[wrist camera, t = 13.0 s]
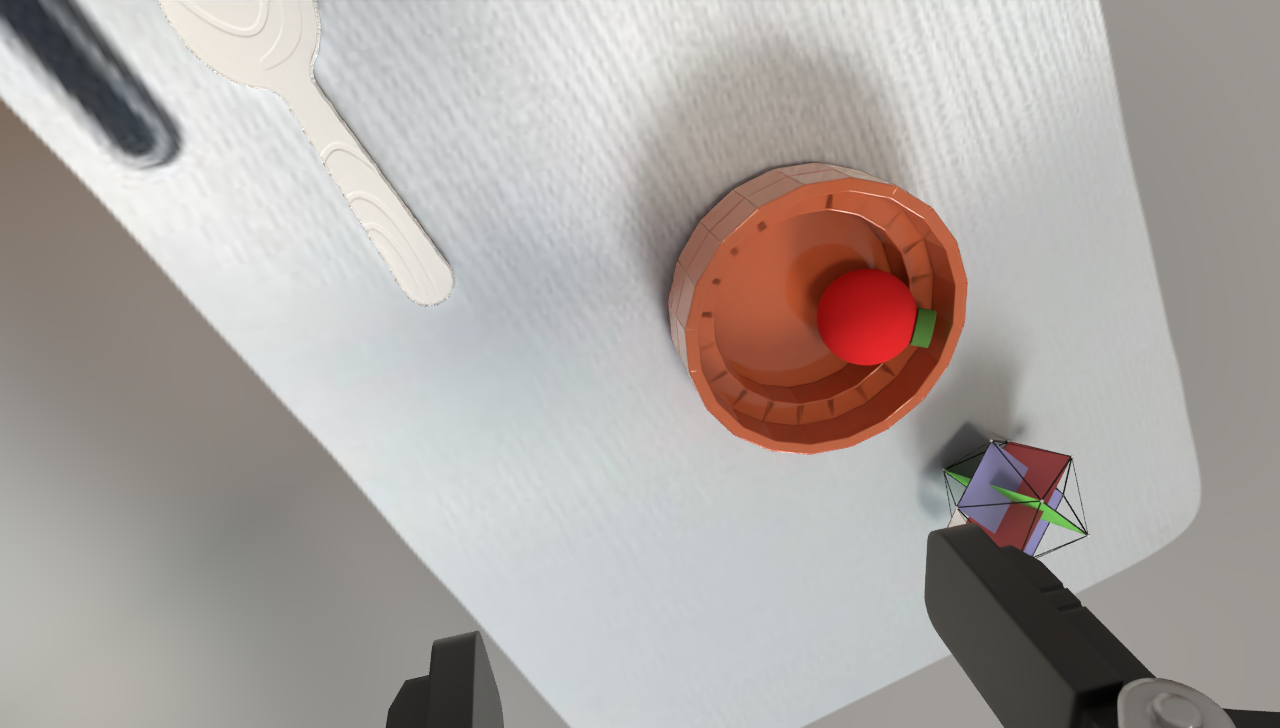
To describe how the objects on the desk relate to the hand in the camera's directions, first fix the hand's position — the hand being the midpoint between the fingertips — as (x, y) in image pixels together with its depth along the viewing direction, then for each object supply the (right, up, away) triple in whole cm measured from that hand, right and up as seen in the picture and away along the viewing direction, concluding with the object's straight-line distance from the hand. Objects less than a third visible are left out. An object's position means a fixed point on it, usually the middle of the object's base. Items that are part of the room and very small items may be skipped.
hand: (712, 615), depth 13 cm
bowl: (+7, +8, +25) cm, 27 cm away
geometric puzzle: (+19, -2, +32) cm, 37 cm away
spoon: (-14, +15, +18) cm, 27 cm away
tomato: (+7, +7, +23) cm, 25 cm away
